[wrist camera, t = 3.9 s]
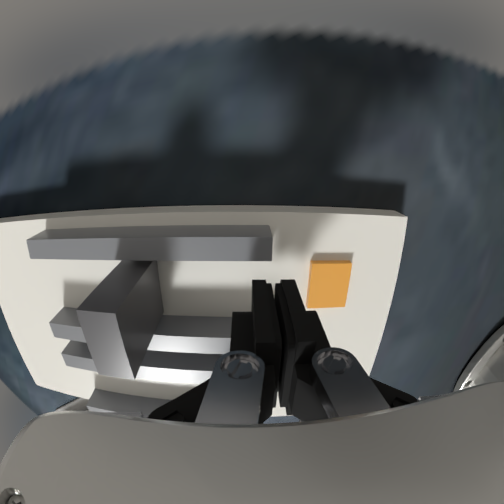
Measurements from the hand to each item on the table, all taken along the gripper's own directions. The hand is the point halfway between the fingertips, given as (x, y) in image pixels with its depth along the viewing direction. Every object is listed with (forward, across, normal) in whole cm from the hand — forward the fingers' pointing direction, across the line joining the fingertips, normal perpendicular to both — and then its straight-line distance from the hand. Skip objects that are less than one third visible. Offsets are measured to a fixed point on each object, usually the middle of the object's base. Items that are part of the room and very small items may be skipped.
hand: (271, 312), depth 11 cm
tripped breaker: (+2, +6, 0) cm, 6 cm away
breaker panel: (+4, +6, +4) cm, 8 cm away
